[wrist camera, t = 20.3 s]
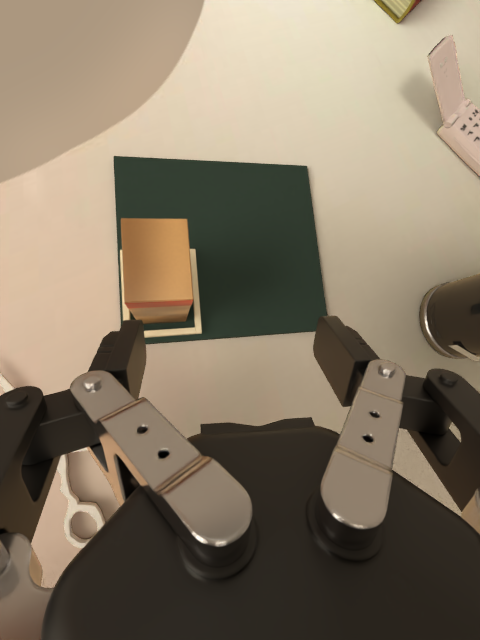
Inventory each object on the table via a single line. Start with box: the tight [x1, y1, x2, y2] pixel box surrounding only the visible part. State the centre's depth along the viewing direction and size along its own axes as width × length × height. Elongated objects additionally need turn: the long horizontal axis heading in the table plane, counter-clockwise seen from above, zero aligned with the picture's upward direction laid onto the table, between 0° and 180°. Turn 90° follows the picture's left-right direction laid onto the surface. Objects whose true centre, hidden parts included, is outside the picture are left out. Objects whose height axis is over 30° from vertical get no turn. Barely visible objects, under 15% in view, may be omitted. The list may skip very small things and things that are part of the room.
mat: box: [114, 156, 327, 344], centre depth 35 cm, size 22×20×1 cm
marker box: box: [121, 218, 193, 324], centre depth 27 cm, size 5×6×10 cm
